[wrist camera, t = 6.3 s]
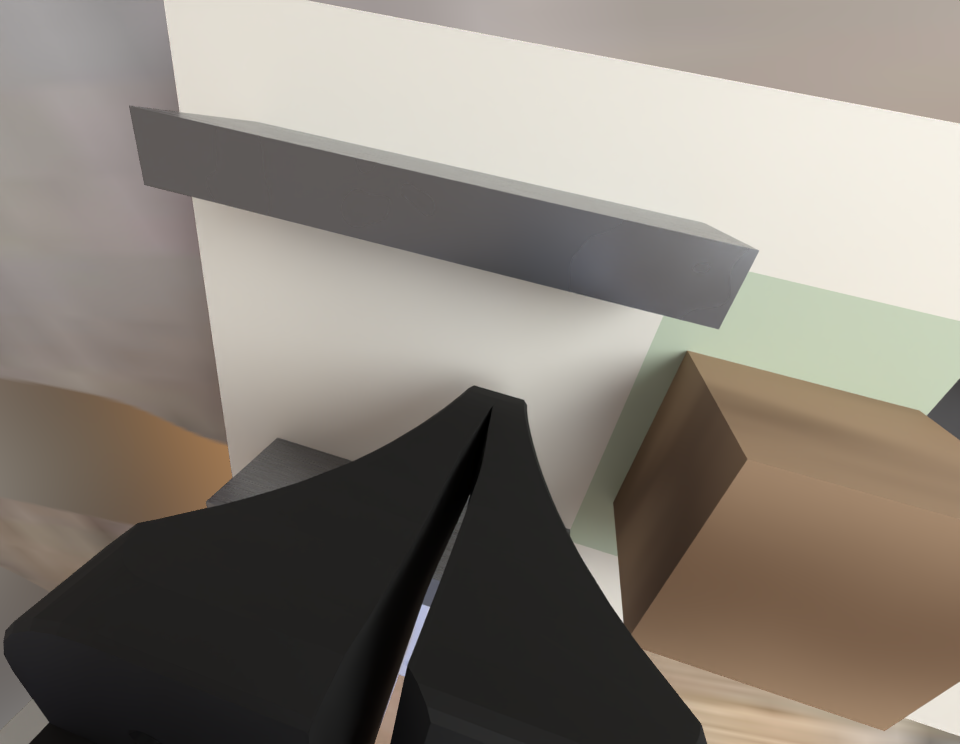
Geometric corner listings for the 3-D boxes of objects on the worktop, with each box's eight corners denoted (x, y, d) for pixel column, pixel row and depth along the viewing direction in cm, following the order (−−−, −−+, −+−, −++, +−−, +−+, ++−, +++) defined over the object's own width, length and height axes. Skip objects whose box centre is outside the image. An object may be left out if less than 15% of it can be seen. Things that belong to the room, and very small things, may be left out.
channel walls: (559, 554, 13) (553, 649, 11) (279, 464, 14) (211, 531, 12) (703, 222, 8) (759, 250, 6) (256, 121, 9) (128, 106, 7)
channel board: (917, 657, 15) (974, 740, 13) (277, 453, 18) (234, 494, 16) (1467, 250, 8) (1805, 283, 6) (246, 11, 11) (159, -28, 8)
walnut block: (792, 557, 11) (884, 730, 8) (613, 502, 12) (625, 643, 8) (919, 410, 9) (1133, 568, 5) (687, 350, 9) (747, 459, 6)
